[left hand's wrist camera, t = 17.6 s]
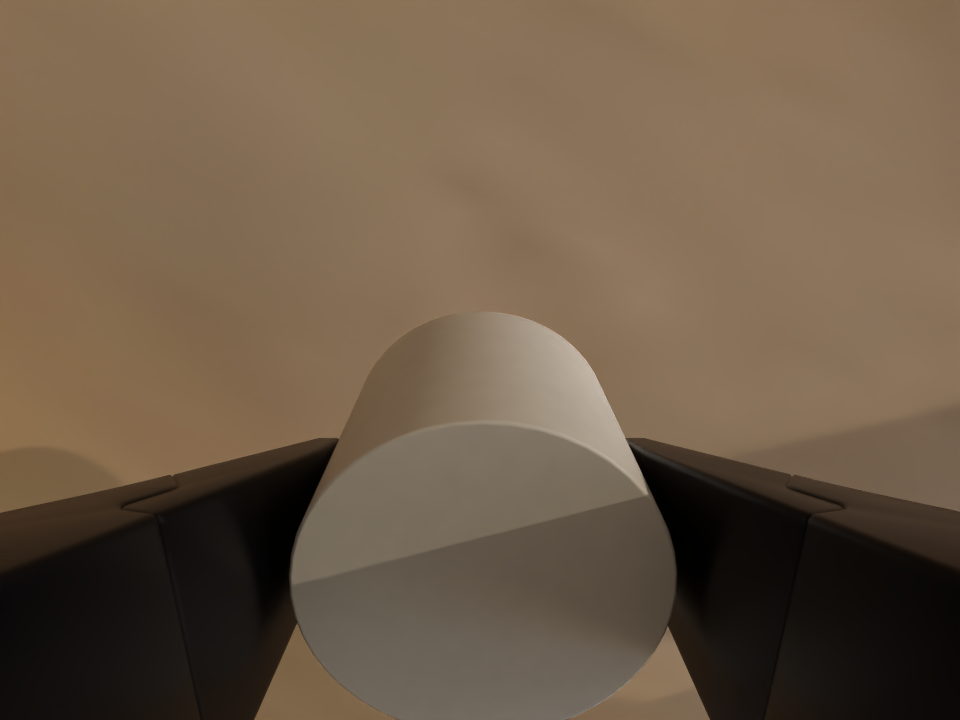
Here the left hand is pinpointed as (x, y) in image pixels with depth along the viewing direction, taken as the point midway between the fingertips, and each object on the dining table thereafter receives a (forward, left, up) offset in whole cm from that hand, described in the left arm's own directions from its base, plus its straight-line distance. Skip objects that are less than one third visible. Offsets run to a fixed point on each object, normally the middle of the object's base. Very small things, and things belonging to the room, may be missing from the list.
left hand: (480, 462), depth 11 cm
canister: (0, 0, -1) cm, 1 cm away
